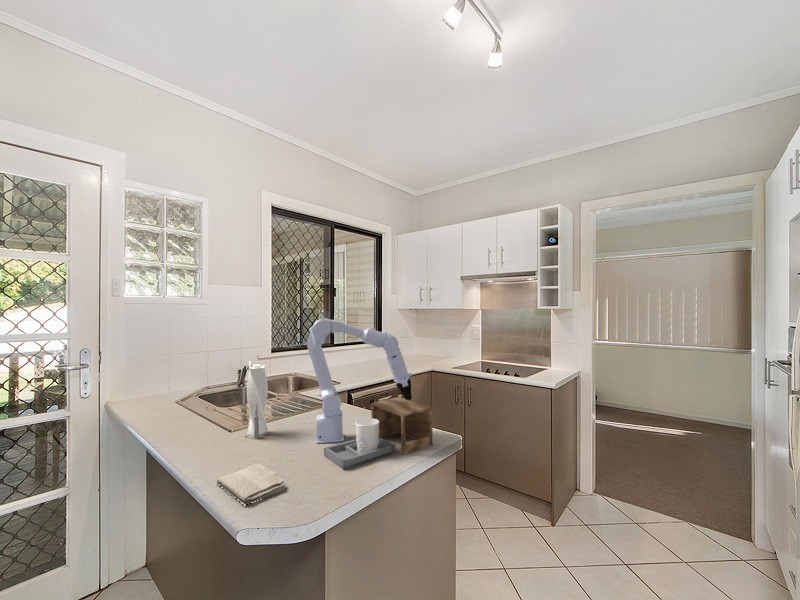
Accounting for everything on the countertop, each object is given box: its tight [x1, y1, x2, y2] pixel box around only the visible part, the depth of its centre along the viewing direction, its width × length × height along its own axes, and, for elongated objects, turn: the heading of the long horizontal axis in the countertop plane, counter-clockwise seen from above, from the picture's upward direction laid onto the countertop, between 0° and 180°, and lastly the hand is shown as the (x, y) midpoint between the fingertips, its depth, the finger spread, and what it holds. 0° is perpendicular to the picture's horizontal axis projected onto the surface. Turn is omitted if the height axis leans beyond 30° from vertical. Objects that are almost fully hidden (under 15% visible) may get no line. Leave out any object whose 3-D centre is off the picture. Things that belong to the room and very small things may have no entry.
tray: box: [323, 437, 396, 471], centre depth 115 cm, size 19×13×3 cm
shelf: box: [370, 396, 434, 455], centre depth 126 cm, size 13×18×13 cm
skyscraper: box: [245, 360, 272, 440], centre depth 136 cm, size 8×8×28 cm
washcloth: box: [216, 463, 287, 505], centre depth 96 cm, size 12×18×3 cm, turn 49°
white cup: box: [354, 417, 379, 454], centre depth 117 cm, size 8×8×10 cm
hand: (409, 399), depth 134 cm, fingers closed, pressing on shelf
